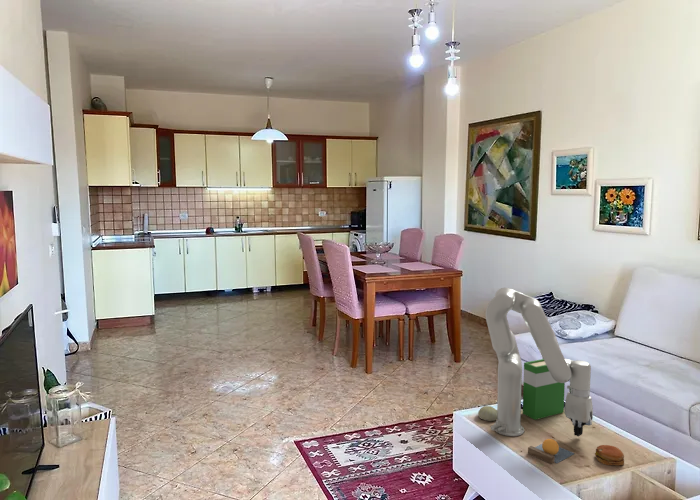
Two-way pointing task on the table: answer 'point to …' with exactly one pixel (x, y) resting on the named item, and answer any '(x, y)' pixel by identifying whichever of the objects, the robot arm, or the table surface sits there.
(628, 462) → the table surface
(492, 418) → the sea urchin shell
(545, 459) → the stopper wall
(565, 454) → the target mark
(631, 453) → the table surface
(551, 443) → the ball
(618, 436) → the table surface
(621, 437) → the table surface
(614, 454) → the burger
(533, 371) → the hardback book
